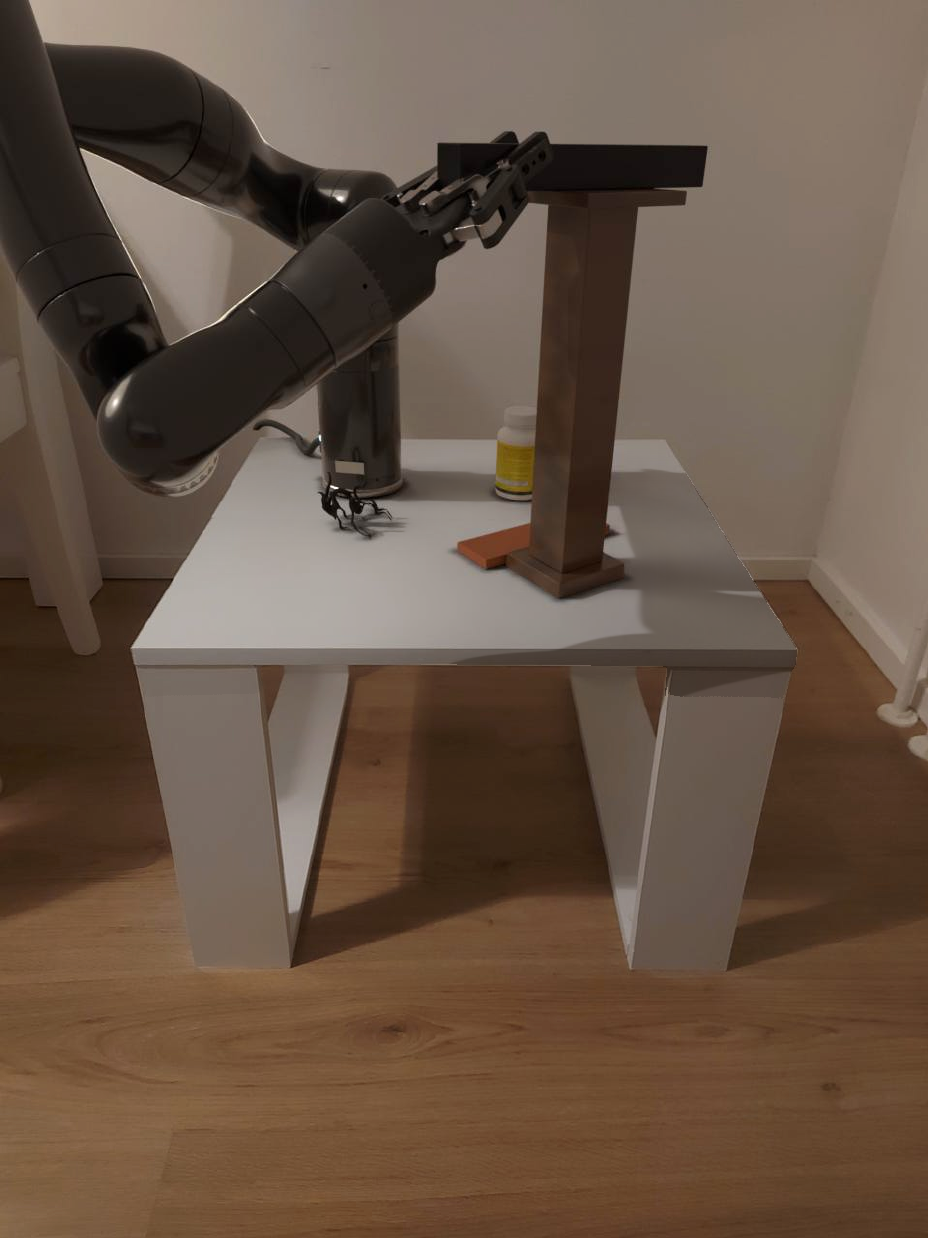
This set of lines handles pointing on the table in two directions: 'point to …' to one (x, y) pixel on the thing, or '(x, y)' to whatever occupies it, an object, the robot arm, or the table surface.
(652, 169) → the handle bar
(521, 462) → the supplement bottle
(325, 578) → the table surface
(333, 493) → the creature
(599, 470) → the plant stand
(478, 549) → the wooden plank
